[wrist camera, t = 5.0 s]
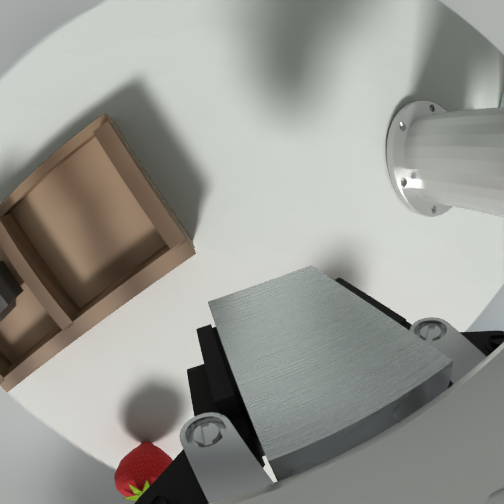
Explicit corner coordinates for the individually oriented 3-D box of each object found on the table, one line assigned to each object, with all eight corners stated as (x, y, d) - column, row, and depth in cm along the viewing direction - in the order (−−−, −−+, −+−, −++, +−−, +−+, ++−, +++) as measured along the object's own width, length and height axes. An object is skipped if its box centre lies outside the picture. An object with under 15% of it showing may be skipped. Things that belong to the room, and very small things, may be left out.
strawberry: (105, 442, 27) (99, 512, 18) (147, 414, 28) (148, 491, 18) (144, 465, 29) (147, 531, 20) (186, 440, 30) (199, 511, 20)
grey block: (207, 301, 11) (267, 461, 4) (311, 265, 12) (452, 360, 5) (252, 417, 13) (310, 545, 6) (331, 384, 13) (418, 488, 7)
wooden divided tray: (111, 118, 21) (80, 89, 12) (192, 242, 25) (205, 278, 16) (-48, 273, 19) (-100, 308, 10) (23, 368, 23) (-9, 426, 15)
